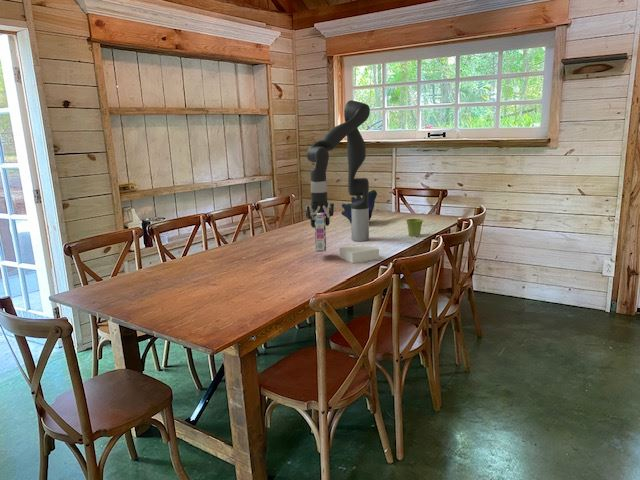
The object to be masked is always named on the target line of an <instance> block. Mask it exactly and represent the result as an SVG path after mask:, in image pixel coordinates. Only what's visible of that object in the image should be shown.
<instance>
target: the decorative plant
mask: <svg viewBox="0 0 640 480" xmlns="http://www.w3.org/2000/svg"><path fill="white" fill-rule="evenodd" d="M377 195H378V192H377V190H375V189H372V190H369V193H368V205H369V221H371V218H372V215H373V211H374V209H375V202H376V198H377ZM361 198H362V197H361V196H352V197H351V198H350V200H351V203H342V204H341V207H342V208H343V209H344V210H343V211H342V212H341V215H342V217H344V218H346V219H347V220H348V221H349V222H350V224H351V222H352V213H351V204H352V203H353V202H356V201H358V200H360V199H361Z"/></svg>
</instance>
